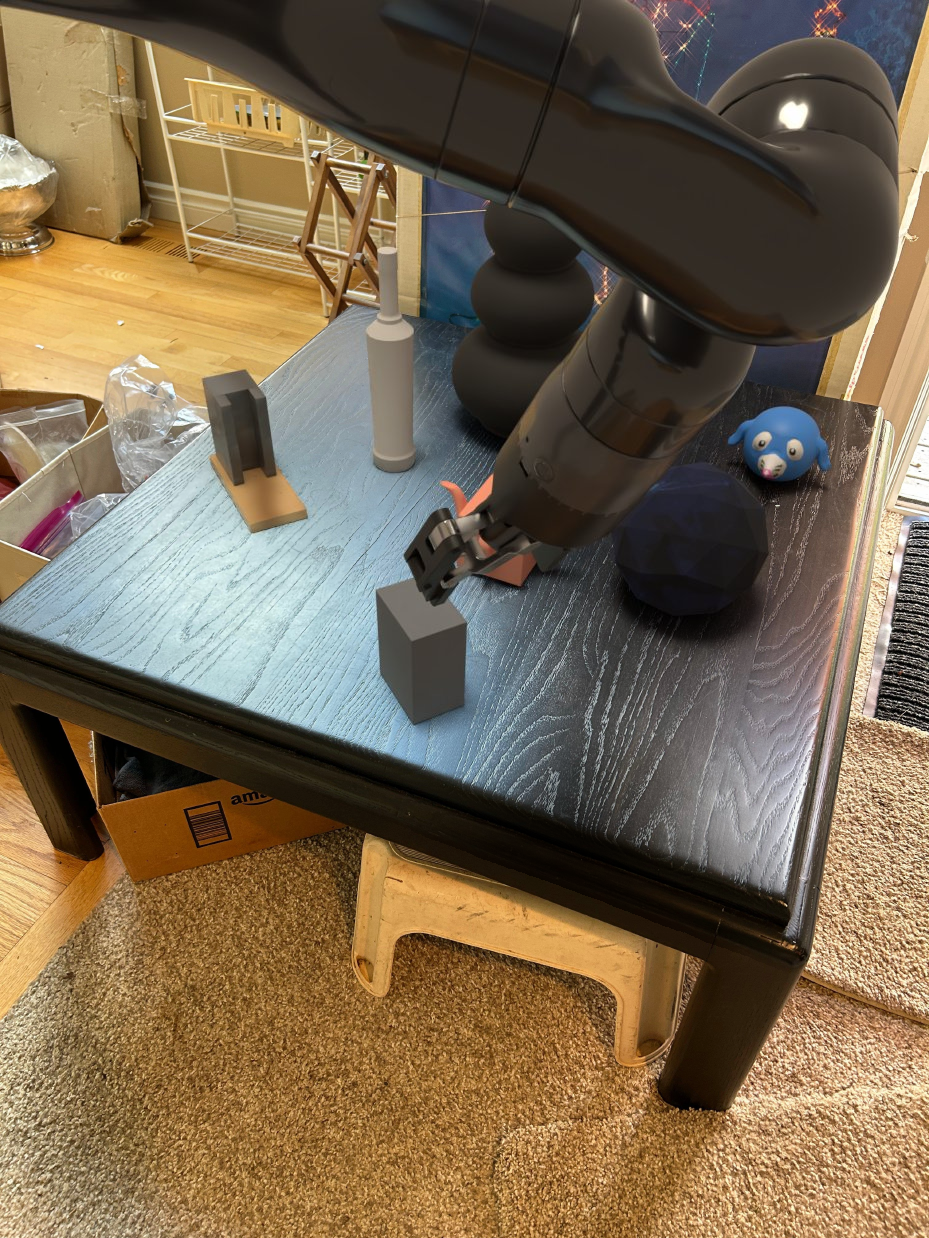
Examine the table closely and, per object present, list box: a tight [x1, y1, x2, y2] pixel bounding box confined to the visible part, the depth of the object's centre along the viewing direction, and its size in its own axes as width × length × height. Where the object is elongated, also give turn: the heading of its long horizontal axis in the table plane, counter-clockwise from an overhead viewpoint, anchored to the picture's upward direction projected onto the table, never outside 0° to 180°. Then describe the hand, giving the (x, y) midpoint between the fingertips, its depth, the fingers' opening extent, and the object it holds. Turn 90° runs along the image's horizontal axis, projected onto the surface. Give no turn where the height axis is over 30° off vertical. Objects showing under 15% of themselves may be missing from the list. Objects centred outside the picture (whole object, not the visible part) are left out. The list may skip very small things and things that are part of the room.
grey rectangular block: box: [375, 577, 468, 725], centre depth 78 cm, size 5×9×10 cm, turn 28°
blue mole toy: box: [727, 406, 832, 482], centre depth 104 cm, size 12×12×8 cm
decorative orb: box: [611, 461, 770, 617], centre depth 86 cm, size 14×15×15 cm
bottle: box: [365, 246, 416, 473], centre depth 100 cm, size 5×5×25 cm
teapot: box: [440, 473, 537, 587], centre depth 92 cm, size 12×15×8 cm
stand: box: [201, 368, 308, 534], centre depth 99 cm, size 6×15×11 cm, turn 28°
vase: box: [451, 201, 596, 440], centre depth 104 cm, size 18×18×35 cm
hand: (486, 575), depth 60 cm, fingers open, 8 cm apart
